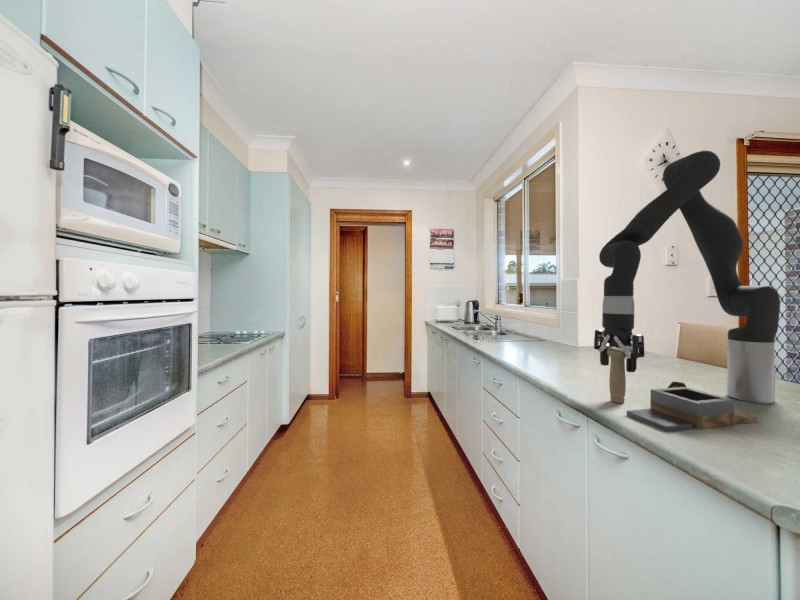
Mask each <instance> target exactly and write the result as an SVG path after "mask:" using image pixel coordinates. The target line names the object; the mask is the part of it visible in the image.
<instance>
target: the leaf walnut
mask: <svg viewBox="0 0 800 600" xmlns="http://www.w3.org/2000/svg"><path fill="white" fill-rule="evenodd" d="M649 402H650V405H649V406H650V408H653V409H656V410H658V411H661V412H664V413H667V414H670V415H672V416H675V417H678V418H681V419H684V420H686V421H689V422H692V423H695V429H694V430H697V431H698V430H706V429H714V428H715V429H716V428H724V427H725V428H726V427H730V426H731V427H732V426H733V427H734V426H735V425H739V424H747V423H748V424H749V423H750V424H751V423H757V422H758V416H755V415H753V414H749V413H746V412H742V411H739V410H736V409H734V413H727V414H718V415H708V416H699V417H697V416H694V415H691V414H688V413H685V412H682V411H679V410H676V409H673V408H670V407H667V406H664V405H661V404H658V403H655V402H652V401H651V400H650V401H649ZM650 408H649V409H650Z"/></svg>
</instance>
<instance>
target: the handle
mask: <svg viewBox="0 0 800 600" xmlns="http://www.w3.org/2000/svg"><path fill="white" fill-rule="evenodd" d="M607 354H608V355H609V358H610V368H609V380H608V381H609V394H610V401H611V402H612V403H615V404H624V403H625V400H626V398H625V397H626V388H627V387H626V386H627V385H626V384H627V380H626V364H625V362H626V361H625V360H626V358H627V356H626V354H625V353H624V352H623V351H622V350H621V349H620V348H616V347H612V348H610V349H607Z"/></svg>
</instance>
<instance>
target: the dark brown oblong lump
mask: <svg viewBox="0 0 800 600" xmlns="http://www.w3.org/2000/svg"><path fill="white" fill-rule="evenodd" d="M676 387H687V385H686V384H685V383H684V382H680V381H672V382H671V383H670V384H669V385H668V386H667V388H676Z"/></svg>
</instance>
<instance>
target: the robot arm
mask: <svg viewBox="0 0 800 600" xmlns="http://www.w3.org/2000/svg"><path fill="white" fill-rule="evenodd" d="M720 169H721V160H720V158H719V156H718V154H717V153H715V152H714V151H711V150H700V151H696V152H693V153H691V154H688V155H686V156H684V157H682V158H680V159H677V160H675V161H672V162H670V163H669V164H667V166H666V167H665V168H664V170H663V172H662V180H663V183H664V186H665V188H666V189H665V190H664V191H663V192H661V194H659V195H658V196H657V197H655V198H654V199H652V200H651V201H650V202H649V203H648V204H646V205H645V206H644V207H643V208H641V209H640V210H639V211H638V213H637V214H636V215H634V216H633V218H632V219H631V220H630V221H629V222H628V224H627V225H626V226H625V227H624V228H623V229H622V230H621V231H620V232H619V233H617V234H616V235H614V236H613V237H612V238H611V239H610V240H609V241H608V242H607V243H606V244H605V245H604V246H603V247H602V248H601V250H600V252H599V255H598V257H599V262H600V263H601V264H602V266H604V267H605V268H611V269H612V272H611V274H610V275H609V276H606V277H605V279H604V281H603V299H602V316H601V317H602V319H601V321H602V322H601V326H602V328H604V329H595V330H594V338H593V340H594V341H593V349H594V350H597V351H598V352H599V363H600V365H601V366H609V363H610V361H609V360H610V356H609V355H608V354H607V349H610V348H618V349H621V350H622V351H623V352H624V353H625V354H626V356H627V357H626V358H625V360H626V361H625V362H626V364H625V372H627V373H635V372H636V370H637V365H638V364H637V361H638V359H639V358H644V357H645V338H644V335H643V334H633V332H632V331H633V330H634V329H635V300H634V299H635V298H634V294H635V293H634V291H635V289H634V281H635V279H636V276H637V273H638V269H639V266H640V262H641V258H642V257H641V255H642V252H641V249H640V246H642V245H645V244H646V243H648V242H649V241H650V240H651V239H652V238H653V237H654V236H655V235H656V233H658V231H659V230H660V229H661V228H662V227H663V225H664V224H665V223H666V222H668V220H669V219H670V218H671V217H672V216H673V215H674V214H675V213H676V212H677V211H678V210H679V211H680V213H681V214H682V216H683V219H684V221H685V222H686V223H687V226H688V228H689V230H690V232H691V235H692V237H693V239H694V241H695V244H696V246H697V248H698V251H699V252H700V255H701V256H702V259H703V261H704V263H705V265H706V267H707V270H708V272H709V275H710V277H711V280H712V283H713V286H714V290H715V294H716V296H717V300H718V302H719V306H720V307H721V310H723V311H724V312H725V313H726V314H728V315H729V316H732V317H741V318H743V317H744V318H746V322H745V324H743V325H742V326H739V327H736V328H735V327H734V328H731V329H728V332H727V368H726V369H727V370H726V371H727V372H726V373H727V376H726V377H727V381H726V395H727V396H728V397H730V398H732V399H734V400H735V399H736V400H740V401H745V402H749V403H757V404H773V403H774V402H775V401H776V368H775V339H776V338H775V337H776V335H777V333H778V330H779V322H780V321H779V320H780V311H781V297H780V294H779V292H778V290H777V289H776V288H774V287H773V286H769V285H743V284H742V283H741V280H740V279H739V276H738V273H737V265H738V263H739V260H740V257H741V254H742V253H743V248H744V239H743V236H742V234H741V233H740V230H739V227H738V226H737V223H736V222H735V220H734V219H733V218H732V217H731V216H729V215H728V214H727V213H726V212H723V211H722V210H721V209H719V208H717V207H716V206H714V205H713V204H711V203H710V202H709V201H708V200H707V199H706V198H705V197H704V196H703V194H702V192H701V190H702V189H703V188H704V187H705V186H707V185H708V184H709V183H710V182H711V181H713V179H714V178H716V176H718V173H719V172H720Z"/></svg>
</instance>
